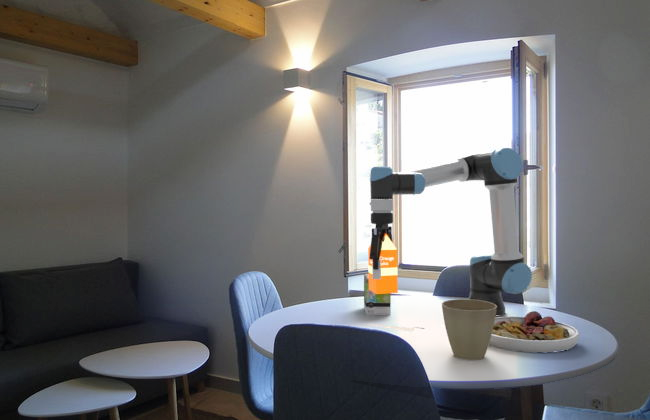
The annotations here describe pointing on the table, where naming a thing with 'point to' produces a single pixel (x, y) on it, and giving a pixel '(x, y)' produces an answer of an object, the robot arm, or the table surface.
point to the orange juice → (385, 269)
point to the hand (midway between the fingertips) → (382, 276)
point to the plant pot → (469, 326)
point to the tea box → (375, 300)
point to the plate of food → (532, 334)
